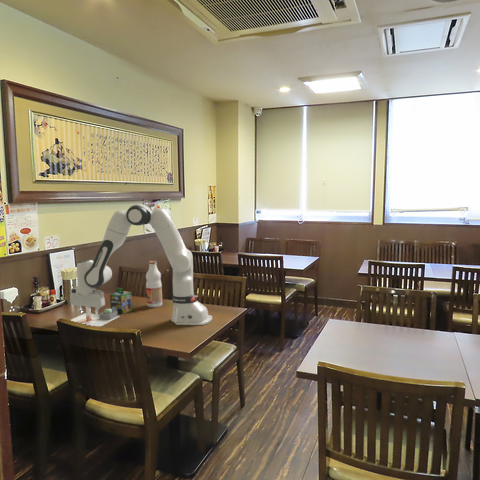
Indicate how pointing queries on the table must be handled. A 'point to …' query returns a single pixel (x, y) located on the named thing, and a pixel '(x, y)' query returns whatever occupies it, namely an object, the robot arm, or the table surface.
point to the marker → (88, 313)
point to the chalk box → (121, 301)
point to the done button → (108, 311)
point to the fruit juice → (153, 286)
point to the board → (96, 318)
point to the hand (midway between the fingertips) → (88, 313)
